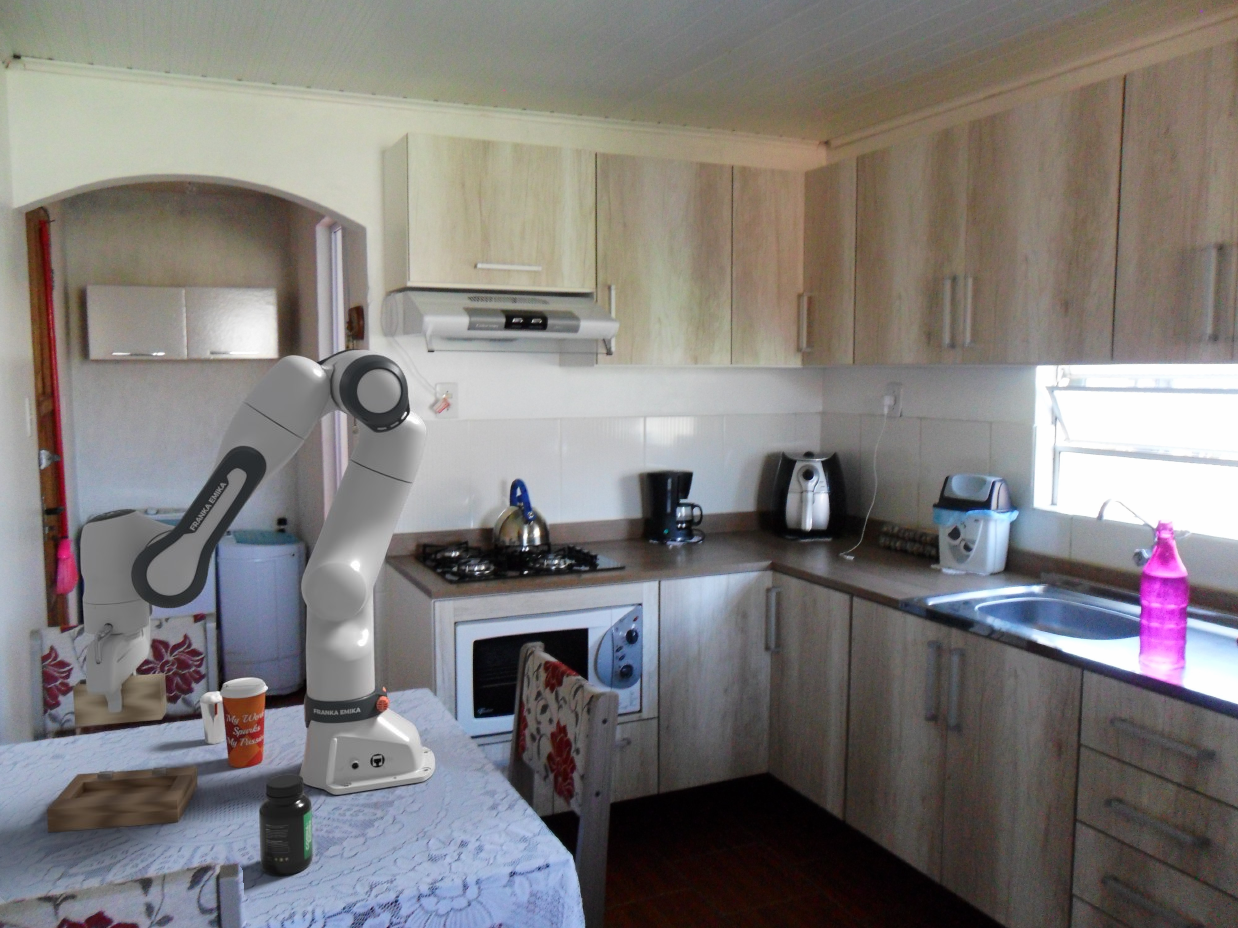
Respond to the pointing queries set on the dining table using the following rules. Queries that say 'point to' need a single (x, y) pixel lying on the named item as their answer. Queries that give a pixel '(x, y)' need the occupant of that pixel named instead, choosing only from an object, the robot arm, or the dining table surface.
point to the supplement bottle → (285, 827)
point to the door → (139, 703)
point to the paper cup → (244, 720)
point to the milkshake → (213, 717)
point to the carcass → (123, 798)
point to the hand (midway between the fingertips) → (121, 704)
